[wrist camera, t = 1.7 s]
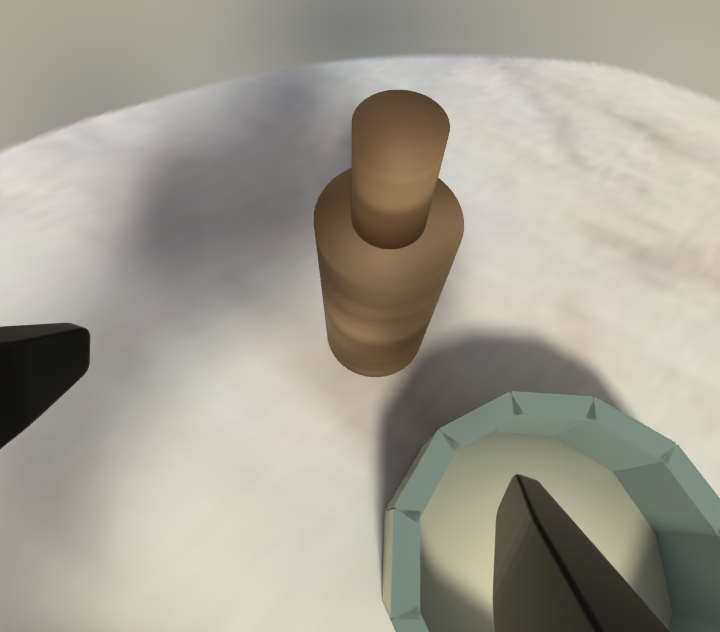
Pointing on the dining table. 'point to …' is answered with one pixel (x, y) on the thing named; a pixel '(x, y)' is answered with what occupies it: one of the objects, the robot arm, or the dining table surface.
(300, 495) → the dining table surface
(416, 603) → the bowl
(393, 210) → the walnut bottle
